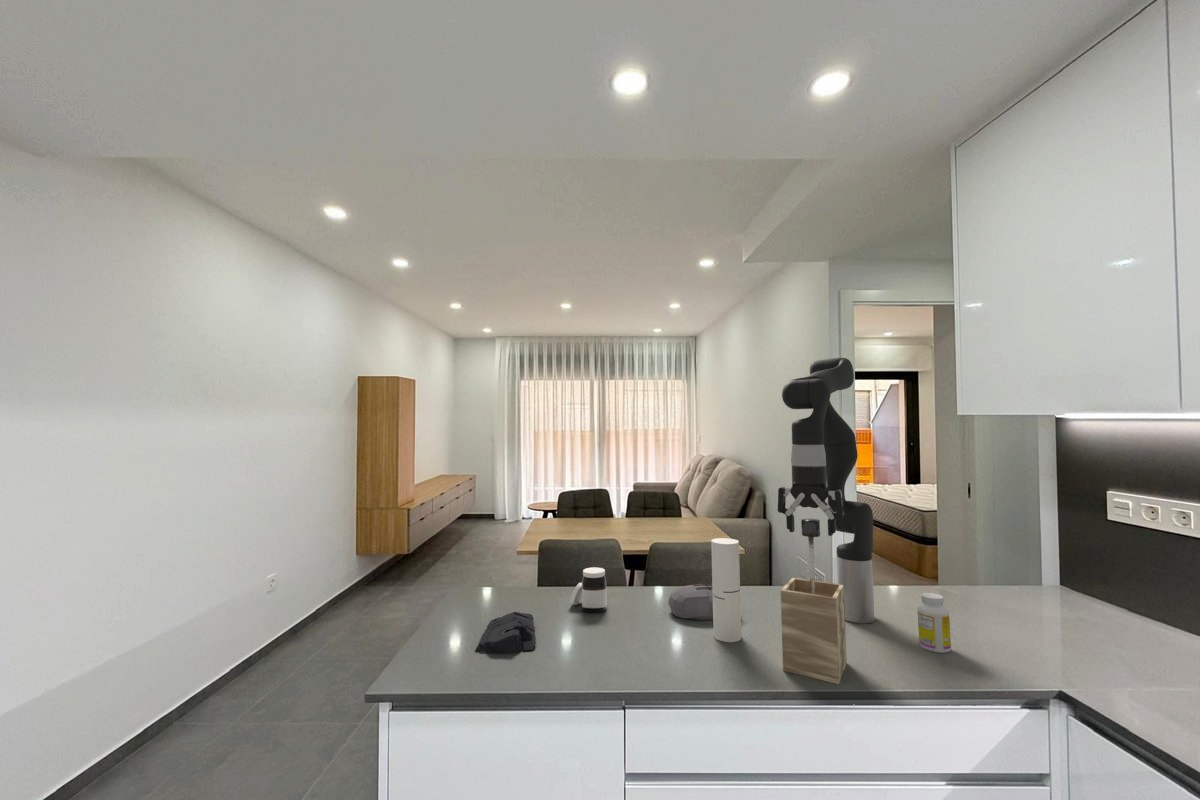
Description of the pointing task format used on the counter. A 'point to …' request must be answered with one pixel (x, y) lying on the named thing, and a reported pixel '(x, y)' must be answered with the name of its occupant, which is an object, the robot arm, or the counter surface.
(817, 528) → the plunger
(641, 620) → the counter surface
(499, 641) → the dark slate chunk
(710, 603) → the grey rounded bag
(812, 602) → the wooden utensil holder
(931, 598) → the supplement bottle
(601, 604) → the spread jar
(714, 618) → the cylindrical container
